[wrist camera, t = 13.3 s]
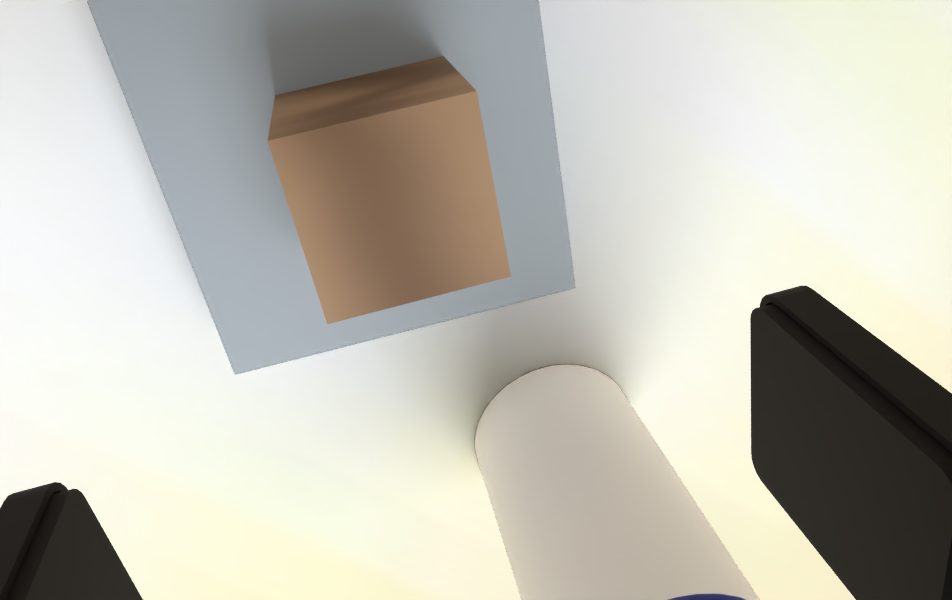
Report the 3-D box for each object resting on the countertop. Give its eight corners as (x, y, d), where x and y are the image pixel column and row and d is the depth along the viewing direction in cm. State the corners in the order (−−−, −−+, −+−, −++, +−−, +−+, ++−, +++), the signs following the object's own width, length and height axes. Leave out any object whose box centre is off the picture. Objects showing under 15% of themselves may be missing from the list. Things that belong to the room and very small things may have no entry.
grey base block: (495, -91, 25) (526, -91, 21) (544, 244, 30) (575, 288, 27) (119, -13, 24) (87, 0, 20) (243, 319, 29) (235, 374, 26)
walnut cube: (443, 56, 23) (476, 90, 18) (475, 211, 25) (510, 276, 21) (275, 95, 22) (267, 140, 18) (323, 250, 24) (327, 324, 20)
